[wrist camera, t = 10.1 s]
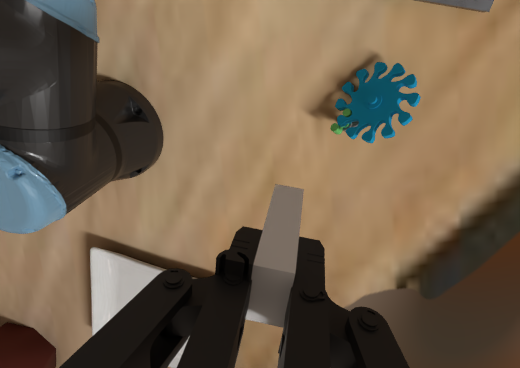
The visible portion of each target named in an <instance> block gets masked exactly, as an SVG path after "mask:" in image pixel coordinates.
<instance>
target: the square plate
mask: <svg viewBox="0 0 520 368" xmlns="http://www.w3.org/2000/svg"><path fill="white" fill-rule="evenodd" d="M165 270H166V269H163V268H160V267H157V266H154V265H151V264H148V263H145V262H142V261H139V260H137V259H134V258H131V257H128V256H126V255H123V254H119V253H116V252H112V251H108V250H104V249H100V248H97V247H92V248H91V249H90V273H91V301H92V336H93V335H94V334H95V333H96V332H98V331H99V330H100V329H101V328H102V327H103V326H104V325H105V324H106V323H107V322H108V321H109V320H110V319H111V318H112V317H114V316H115V315H116V314H117V313H118V312H119V311H120V310H121V309H122V308H123V307H124V306H125V305H126V304H127V303H128V302H129V301H131V300H132V299H133V298H134V297H135V296H136V295H137V294H138V293H139V292H140V291H141V290H142V289H143V288H144V287H145V286H146V285H148V284H149V283H150V282H151V281H152V280H153V279H154V278H155V277H156V276H157V275H158V274H160V273H161V272H163V271H165ZM192 279H198V278H195V277H192ZM189 337H190V336H189ZM188 339H189V338H188ZM187 342H188V340H187V341H186V342H185V344H184V345H183V347H182V348H181V349H180V351H179V352H178V353H177V355H176V356H175V357H174V359H173V360H172V361H171V363H170V364H169V366H168V367H172V368H177V366H178V363H179V361H180V358H181V356H182V354H183V351H184V349H185V346H186V344H187Z"/></svg>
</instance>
